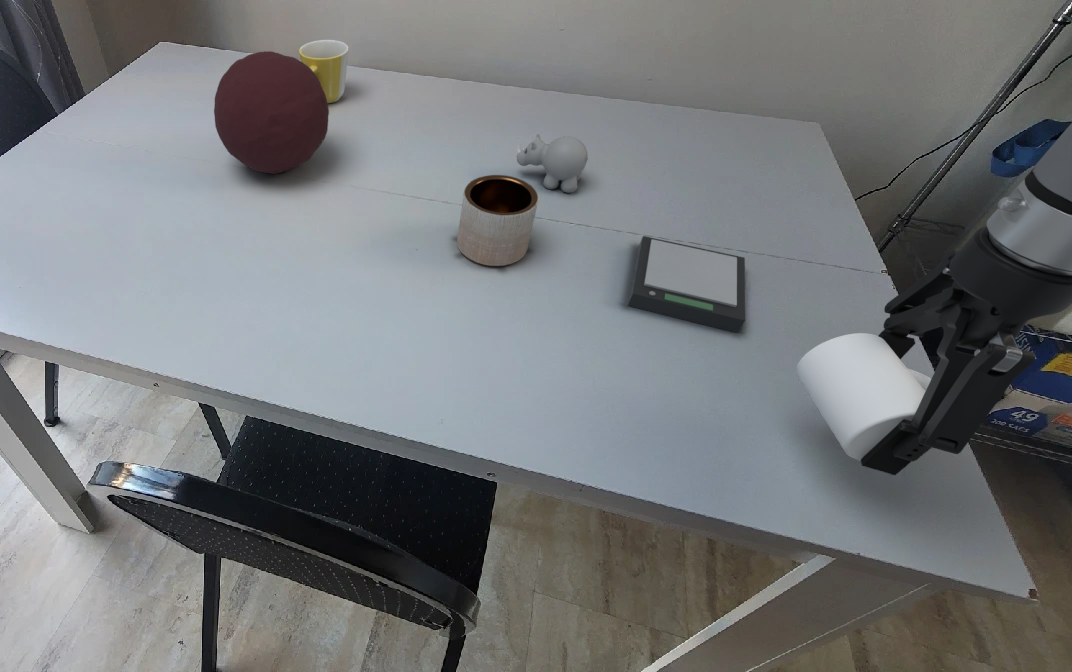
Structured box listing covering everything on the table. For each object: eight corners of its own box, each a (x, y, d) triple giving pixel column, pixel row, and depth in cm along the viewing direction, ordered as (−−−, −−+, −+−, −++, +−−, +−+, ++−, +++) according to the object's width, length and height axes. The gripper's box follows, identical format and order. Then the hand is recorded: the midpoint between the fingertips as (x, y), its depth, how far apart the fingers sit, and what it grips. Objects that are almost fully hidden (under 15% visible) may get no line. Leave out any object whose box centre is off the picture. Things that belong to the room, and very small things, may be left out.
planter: (444, 253, 93) (450, 200, 86) (475, 218, 99) (483, 166, 92) (509, 278, 88) (521, 225, 81) (537, 239, 95) (550, 187, 88)
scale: (737, 333, 80) (747, 318, 78) (627, 305, 84) (633, 291, 82) (737, 270, 88) (746, 255, 86) (637, 248, 92) (643, 233, 90)
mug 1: (322, 83, 136) (319, 35, 128) (359, 94, 132) (358, 45, 124) (283, 107, 128) (278, 57, 121) (321, 119, 124) (318, 68, 116)
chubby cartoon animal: (518, 163, 110) (527, 119, 104) (584, 178, 106) (597, 133, 100) (506, 182, 106) (514, 137, 100) (574, 199, 102) (587, 153, 96)
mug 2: (827, 461, 58) (877, 412, 52) (781, 382, 65) (820, 331, 59) (956, 464, 58) (1021, 415, 52) (895, 384, 64) (946, 333, 59)
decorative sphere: (235, 139, 119) (215, 34, 105) (334, 138, 118) (328, 32, 104) (216, 195, 106) (191, 83, 91) (328, 195, 105) (320, 81, 90)
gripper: (946, 163, 54) (815, 334, 69) (1029, 336, 39) (839, 504, 54) (1051, 180, 51) (892, 352, 67) (1183, 370, 36) (938, 535, 52)
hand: (868, 420), depth 61 cm, fingers closed on mug 2, 11 cm apart
